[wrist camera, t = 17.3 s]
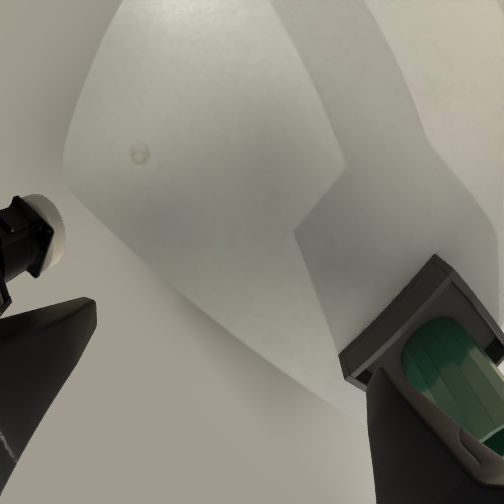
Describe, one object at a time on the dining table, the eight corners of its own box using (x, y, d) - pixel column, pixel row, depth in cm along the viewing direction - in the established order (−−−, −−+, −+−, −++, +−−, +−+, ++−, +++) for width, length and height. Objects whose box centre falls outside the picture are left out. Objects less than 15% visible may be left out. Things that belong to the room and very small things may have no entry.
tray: (420, 407, 26) (429, 428, 23) (337, 355, 24) (344, 379, 21) (498, 332, 22) (513, 348, 19) (434, 253, 20) (454, 268, 18)
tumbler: (391, 378, 24) (432, 488, 12) (413, 316, 22) (483, 427, 10) (448, 373, 23) (499, 466, 12) (472, 316, 21) (547, 404, 10)
